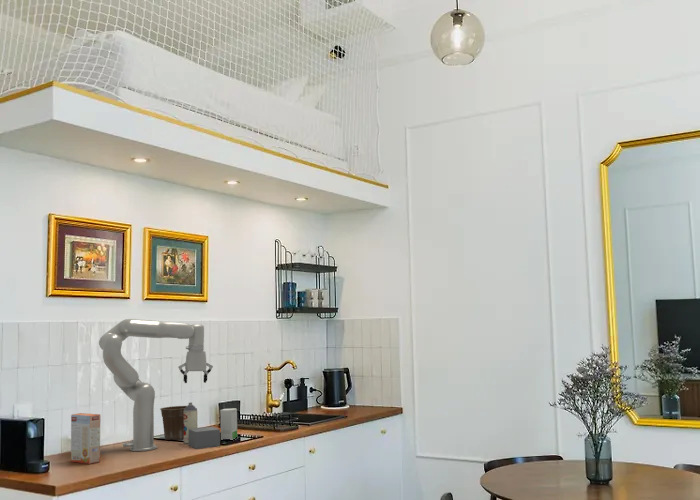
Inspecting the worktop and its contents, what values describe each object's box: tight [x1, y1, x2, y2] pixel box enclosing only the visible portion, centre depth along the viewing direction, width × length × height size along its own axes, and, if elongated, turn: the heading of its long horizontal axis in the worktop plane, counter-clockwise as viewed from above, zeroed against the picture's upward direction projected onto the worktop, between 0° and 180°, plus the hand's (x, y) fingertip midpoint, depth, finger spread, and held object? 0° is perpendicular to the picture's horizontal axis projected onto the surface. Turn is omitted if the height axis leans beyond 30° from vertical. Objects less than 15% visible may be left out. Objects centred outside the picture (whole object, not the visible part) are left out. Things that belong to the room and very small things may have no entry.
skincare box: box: [219, 407, 238, 441], centre depth 364 cm, size 8×7×16 cm
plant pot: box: [159, 405, 188, 441], centre depth 374 cm, size 16×16×16 cm
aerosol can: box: [183, 402, 198, 445], centre depth 358 cm, size 7×7×20 cm
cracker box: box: [70, 412, 101, 465], centre depth 315 cm, size 14×6×21 cm, turn 54°
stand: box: [188, 426, 221, 450], centre depth 347 cm, size 12×12×8 cm
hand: (195, 382), depth 360 cm, fingers open, 9 cm apart
